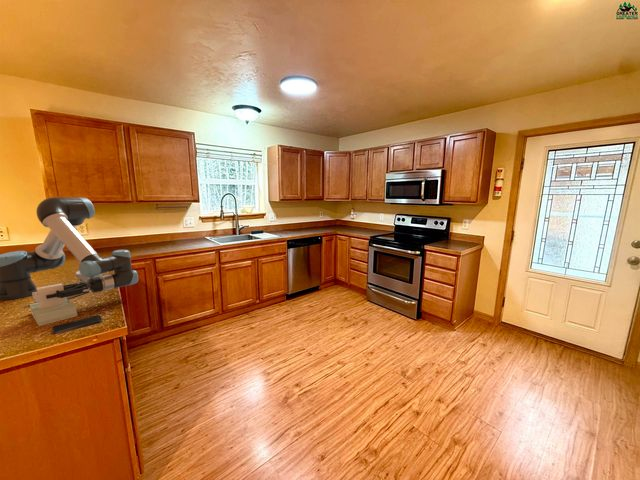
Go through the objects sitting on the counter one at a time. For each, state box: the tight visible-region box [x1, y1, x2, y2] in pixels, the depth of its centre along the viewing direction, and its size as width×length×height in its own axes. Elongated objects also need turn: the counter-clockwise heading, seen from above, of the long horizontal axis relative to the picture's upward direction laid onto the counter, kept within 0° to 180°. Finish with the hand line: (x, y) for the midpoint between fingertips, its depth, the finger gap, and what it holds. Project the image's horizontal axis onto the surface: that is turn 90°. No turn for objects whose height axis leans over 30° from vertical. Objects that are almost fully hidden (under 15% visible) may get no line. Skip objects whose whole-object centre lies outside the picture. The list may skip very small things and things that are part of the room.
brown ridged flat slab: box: [21, 290, 91, 309], centre depth 136 cm, size 26×11×1 cm, turn 147°
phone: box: [51, 314, 103, 335], centre depth 109 cm, size 8×1×15 cm
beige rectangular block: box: [36, 282, 66, 310], centre depth 117 cm, size 4×8×12 cm, turn 144°
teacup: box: [75, 270, 109, 283], centre depth 162 cm, size 15×12×8 cm
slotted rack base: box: [29, 297, 78, 327], centre depth 118 cm, size 20×12×4 cm, turn 54°
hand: (33, 297), depth 112 cm, fingers open, 5 cm apart
